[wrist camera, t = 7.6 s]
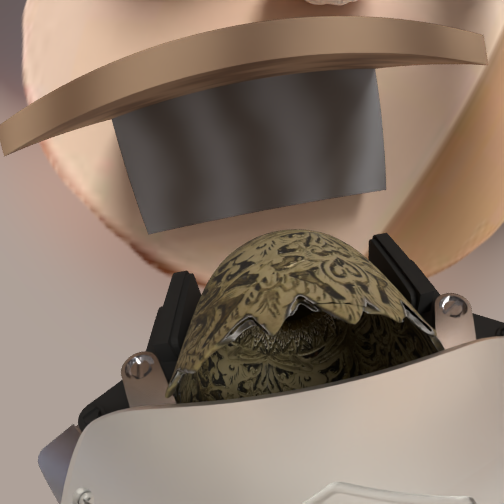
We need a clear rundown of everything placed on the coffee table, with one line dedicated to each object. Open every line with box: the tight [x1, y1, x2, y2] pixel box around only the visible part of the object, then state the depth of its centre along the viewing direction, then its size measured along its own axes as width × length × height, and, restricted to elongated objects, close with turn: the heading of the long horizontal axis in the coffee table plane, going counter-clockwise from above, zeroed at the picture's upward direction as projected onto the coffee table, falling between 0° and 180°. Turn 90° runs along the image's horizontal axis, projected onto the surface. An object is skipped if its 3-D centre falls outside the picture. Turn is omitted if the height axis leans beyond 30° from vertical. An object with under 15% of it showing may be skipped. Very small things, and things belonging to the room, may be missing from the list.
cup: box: [165, 229, 445, 404], centre depth 10 cm, size 8×7×8 cm
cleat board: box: [0, 16, 488, 234], centre depth 19 cm, size 22×12×18 cm, turn 101°
